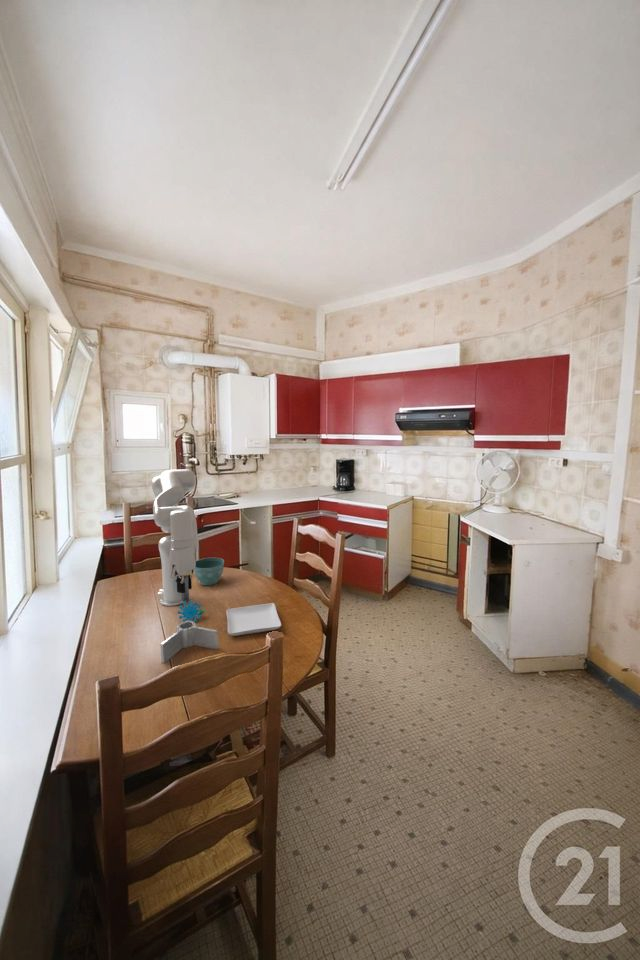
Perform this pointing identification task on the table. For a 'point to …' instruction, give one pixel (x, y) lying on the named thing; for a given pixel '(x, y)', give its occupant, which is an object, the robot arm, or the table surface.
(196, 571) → the teal bowl
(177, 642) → the hinge
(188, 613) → the blue spiky piece
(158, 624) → the table surface
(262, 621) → the salad plate
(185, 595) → the pin
